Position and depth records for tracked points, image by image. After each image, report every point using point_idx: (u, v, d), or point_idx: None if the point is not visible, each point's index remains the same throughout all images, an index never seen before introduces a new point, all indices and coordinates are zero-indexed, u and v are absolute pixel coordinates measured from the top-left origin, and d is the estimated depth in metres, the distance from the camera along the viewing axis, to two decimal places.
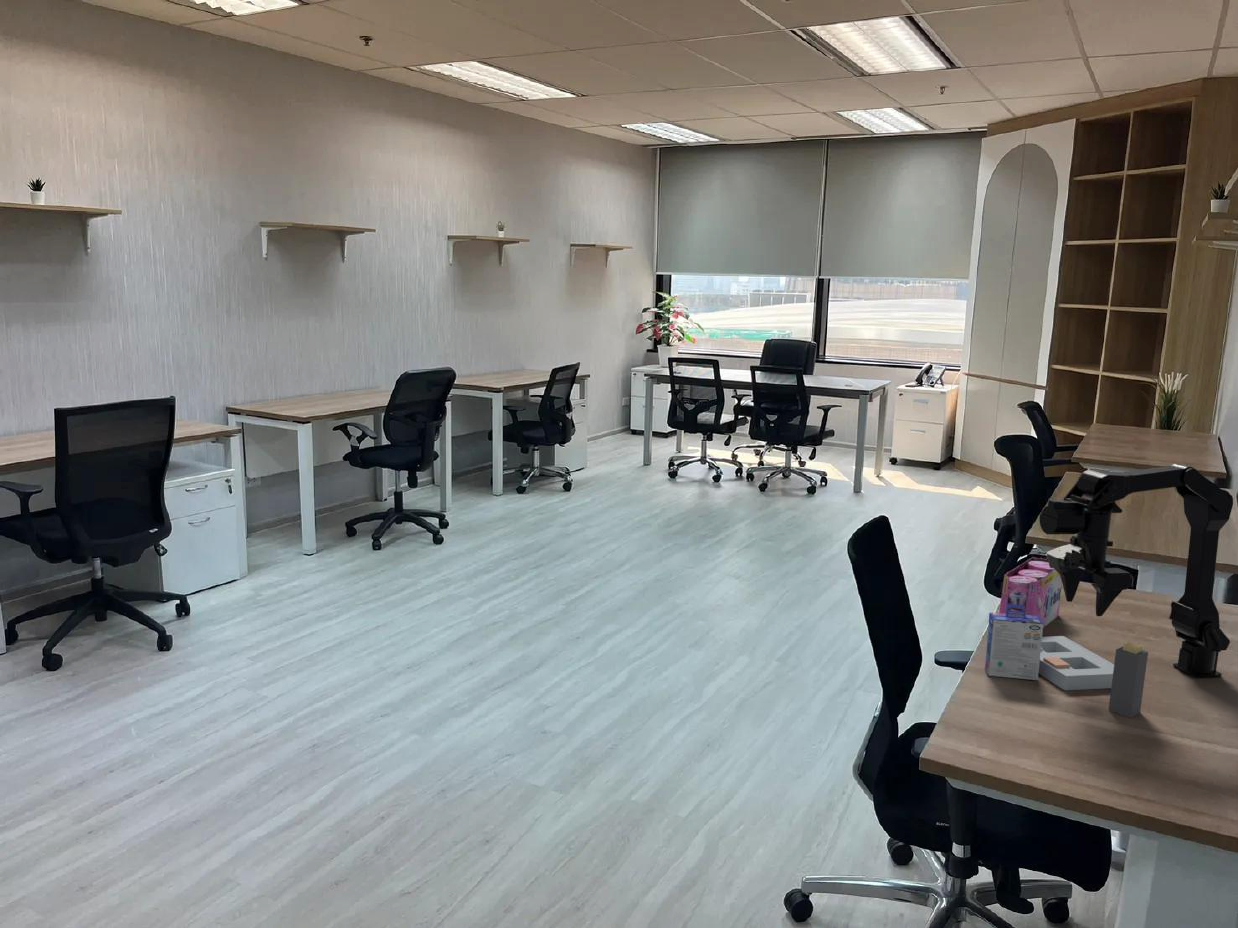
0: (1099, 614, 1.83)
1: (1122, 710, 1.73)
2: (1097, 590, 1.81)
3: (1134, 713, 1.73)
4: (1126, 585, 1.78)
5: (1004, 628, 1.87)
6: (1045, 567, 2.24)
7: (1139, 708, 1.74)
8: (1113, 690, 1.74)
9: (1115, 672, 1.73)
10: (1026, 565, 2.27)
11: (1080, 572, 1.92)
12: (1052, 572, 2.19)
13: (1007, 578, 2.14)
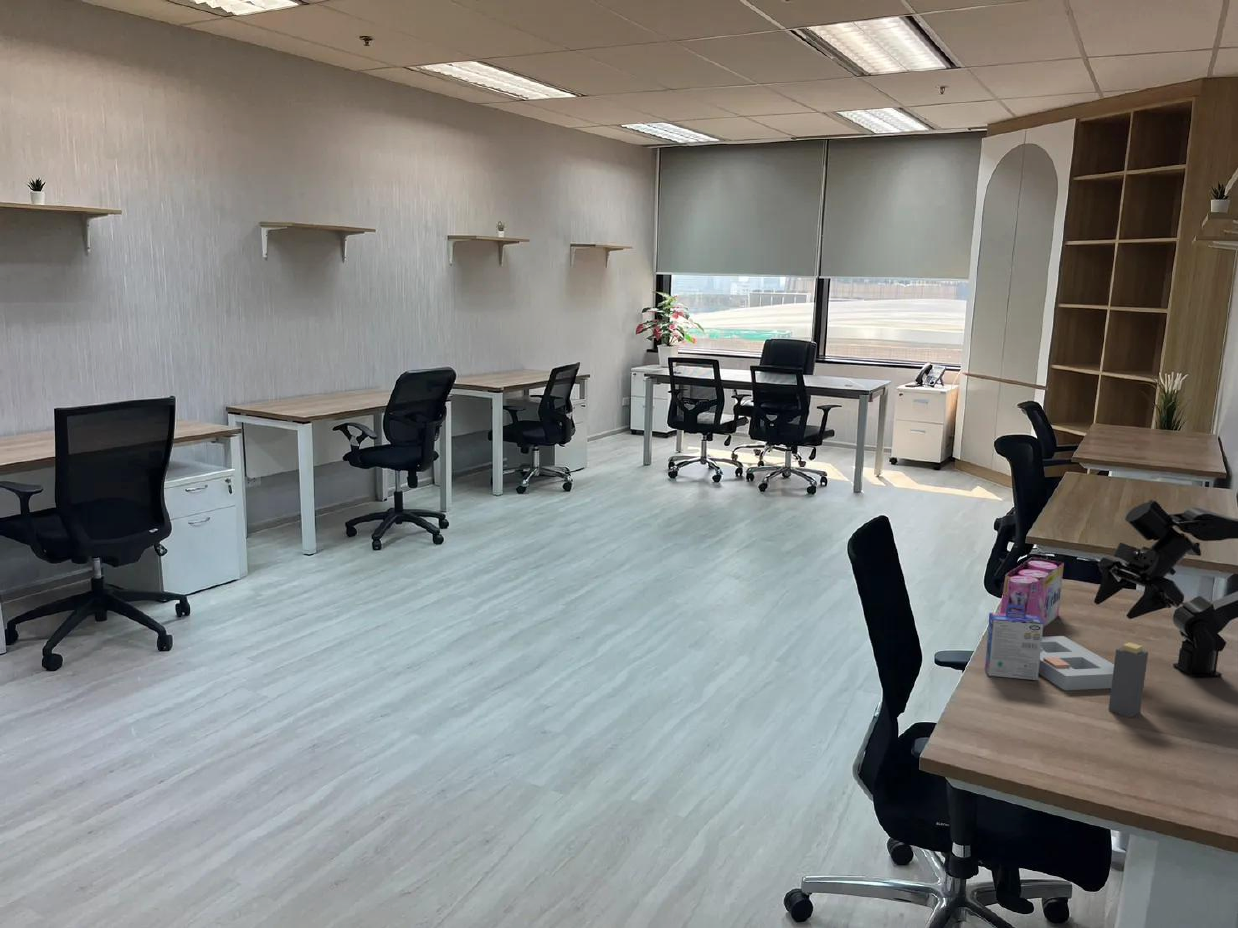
0: (1130, 615, 1.86)
1: (1122, 710, 1.73)
2: (1146, 593, 1.85)
3: (1134, 713, 1.73)
4: (1176, 601, 1.83)
5: (1004, 628, 1.87)
6: (1045, 567, 2.24)
7: (1139, 708, 1.74)
8: (1113, 690, 1.74)
9: (1115, 672, 1.73)
10: (1026, 565, 2.27)
11: (1118, 588, 1.97)
12: (1052, 572, 2.19)
13: (1008, 578, 2.14)
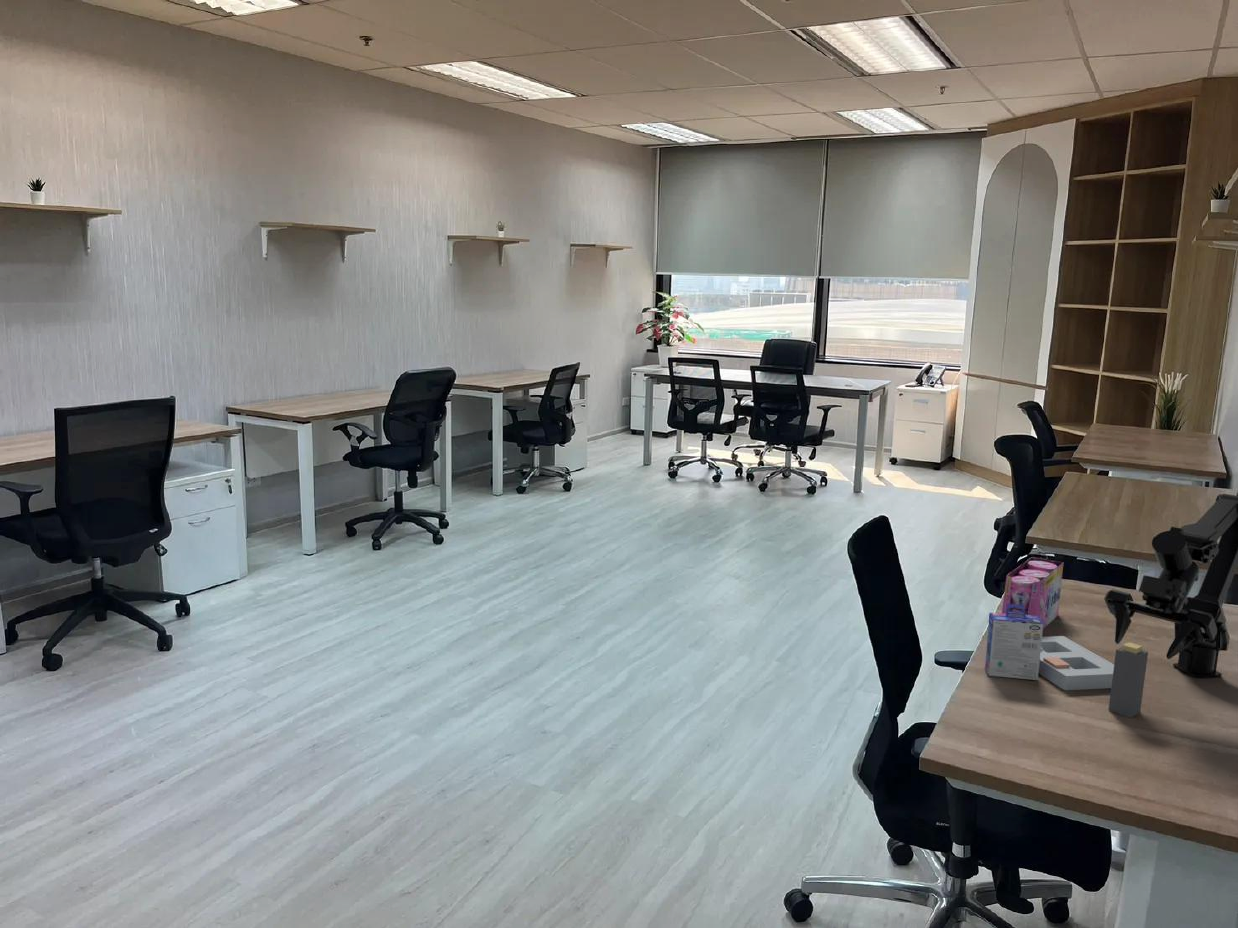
0: (1170, 655, 1.71)
1: (1122, 710, 1.73)
2: (1184, 629, 1.71)
3: (1134, 713, 1.73)
4: (1213, 635, 1.71)
5: (1004, 628, 1.87)
6: (1045, 567, 2.24)
7: (1139, 708, 1.74)
8: (1113, 690, 1.74)
9: (1115, 672, 1.73)
10: (1026, 565, 2.27)
11: (1129, 622, 1.82)
12: (1053, 572, 2.20)
13: (1009, 578, 2.13)
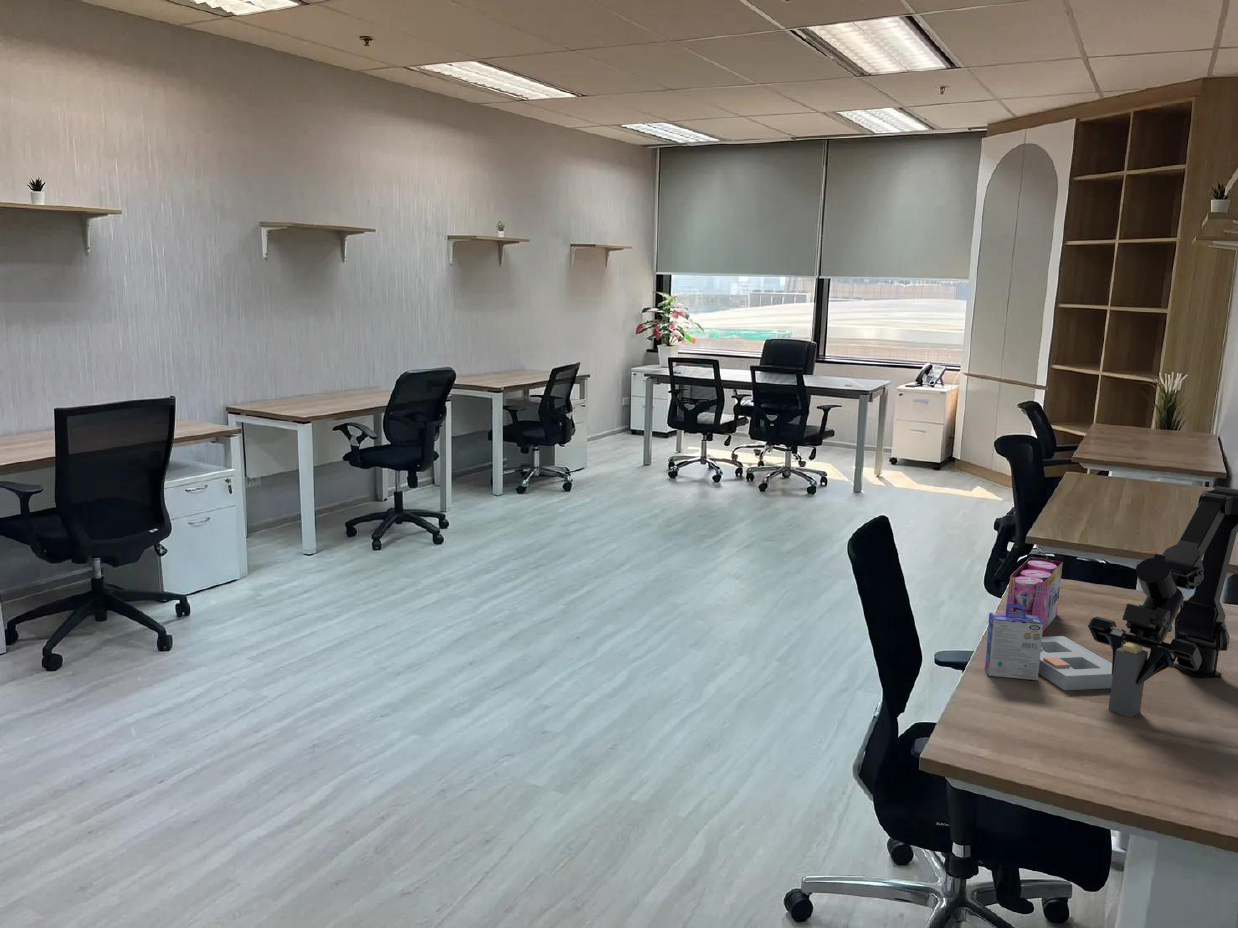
0: (1139, 681, 1.71)
1: (1122, 710, 1.73)
2: (1153, 654, 1.71)
3: (1134, 713, 1.73)
4: (1197, 665, 1.68)
5: (1004, 628, 1.87)
6: (1045, 567, 2.24)
7: (1139, 708, 1.74)
8: (1113, 690, 1.74)
9: (1115, 672, 1.73)
10: (1026, 565, 2.27)
11: None
12: (1054, 572, 2.20)
13: (1013, 579, 2.13)
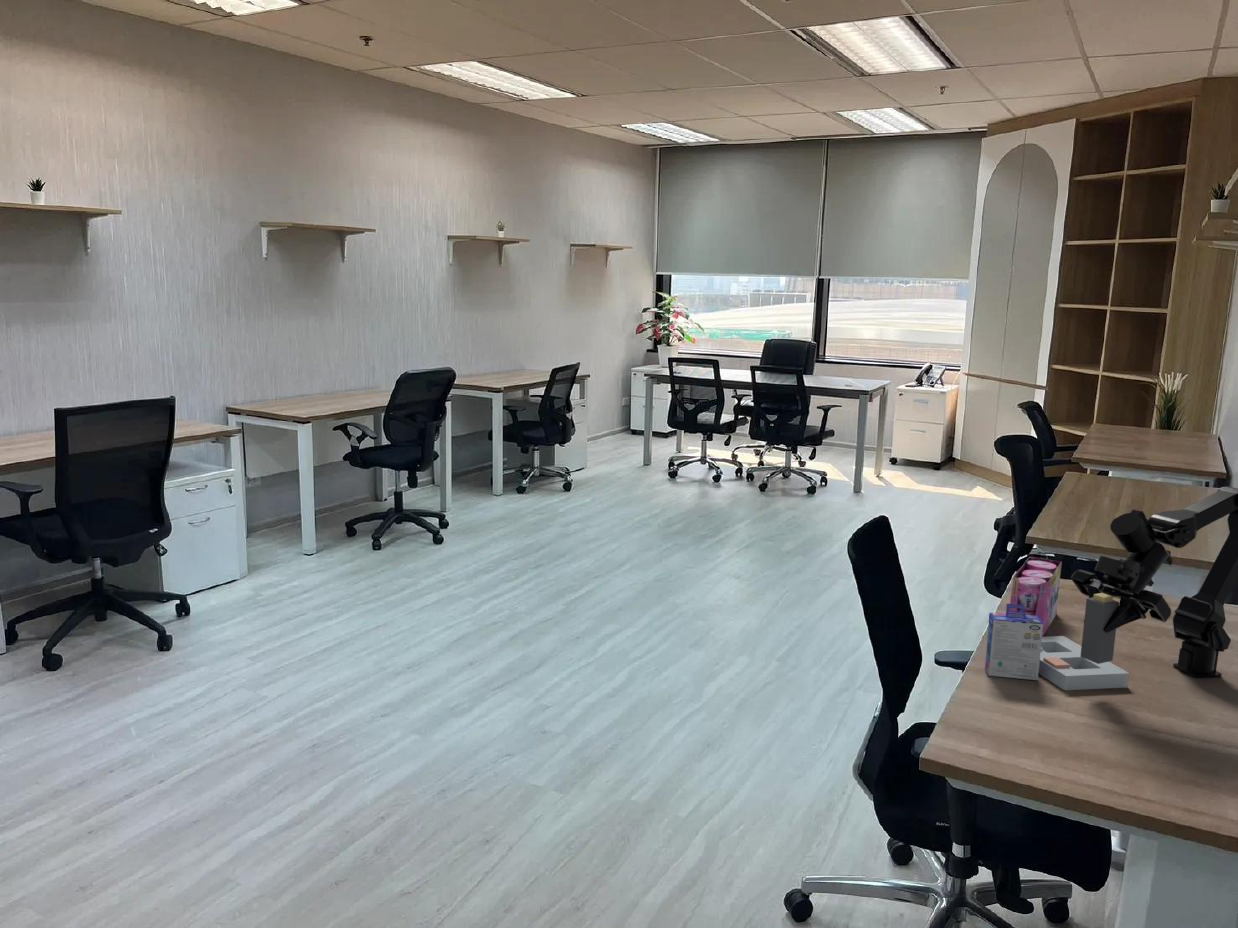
0: (1107, 629, 1.78)
1: (1091, 657, 1.81)
2: (1122, 604, 1.78)
3: (1103, 660, 1.80)
4: (1164, 616, 1.74)
5: (1004, 628, 1.87)
6: (1045, 567, 2.25)
7: (1111, 656, 1.81)
8: (1084, 637, 1.82)
9: (1086, 620, 1.81)
10: (1026, 565, 2.27)
11: None
12: (1055, 572, 2.20)
13: (1017, 580, 2.13)
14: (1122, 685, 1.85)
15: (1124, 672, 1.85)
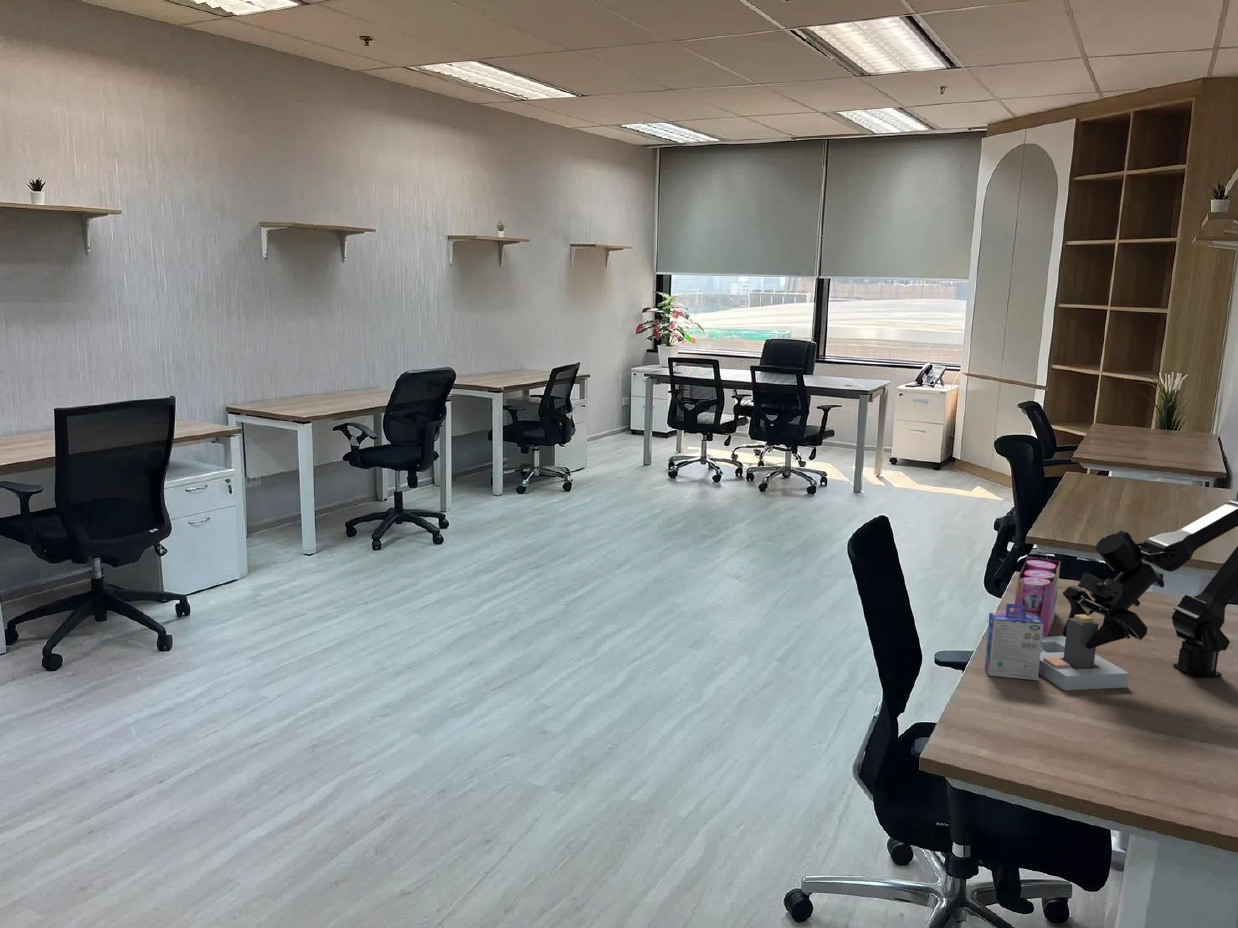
0: (1089, 646, 1.85)
1: None
2: (1105, 623, 1.84)
3: None
4: (1139, 634, 1.80)
5: (1004, 628, 1.87)
6: (1046, 566, 2.25)
7: None
8: (1065, 655, 1.91)
9: (1066, 639, 1.90)
10: (1026, 565, 2.27)
11: None
12: (1056, 572, 2.20)
13: (1022, 581, 2.12)
14: (1122, 685, 1.85)
15: (1124, 672, 1.85)
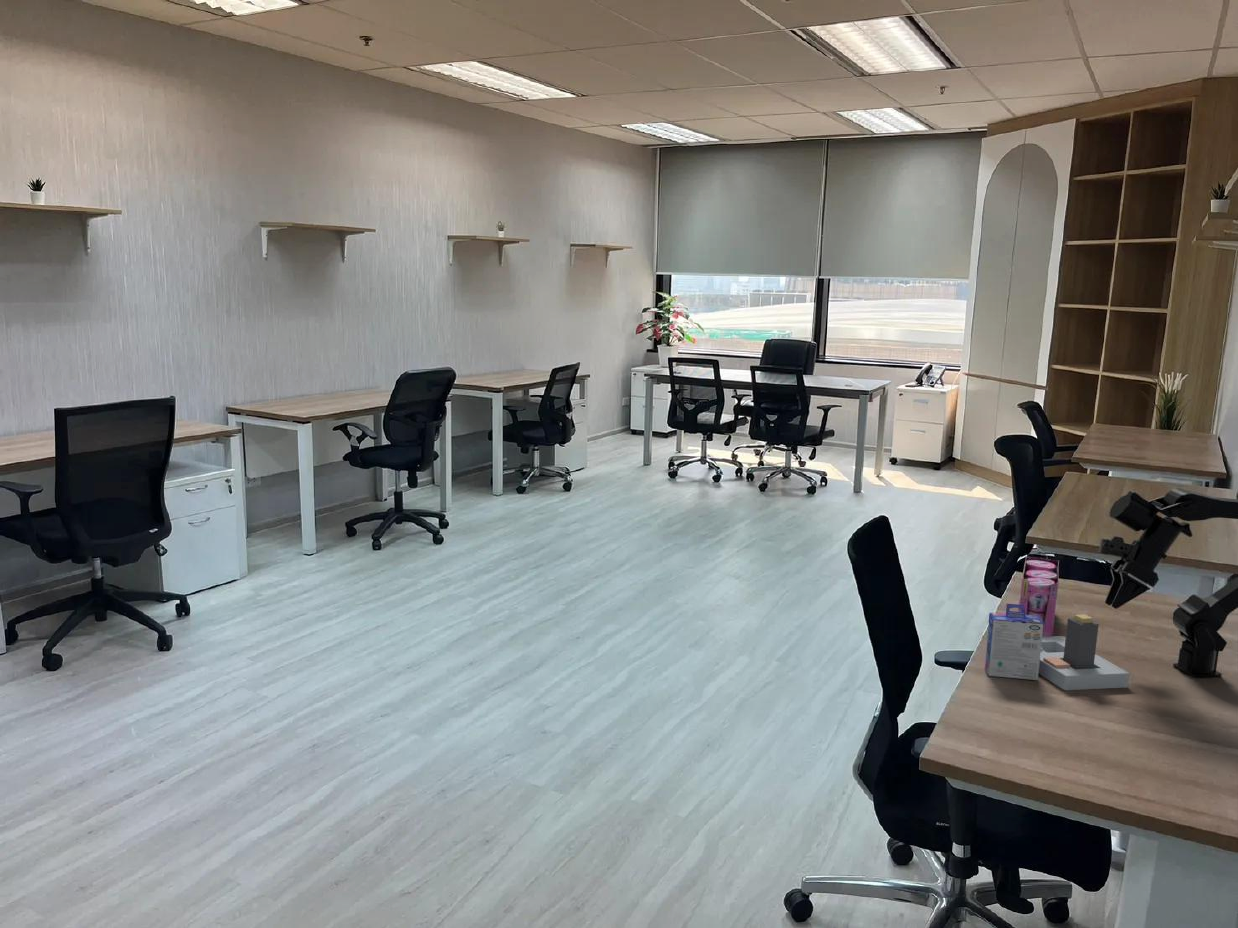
0: (1114, 605, 1.89)
1: None
2: (1121, 579, 1.88)
3: None
4: (1146, 580, 1.83)
5: (1004, 629, 1.87)
6: (1046, 566, 2.25)
7: None
8: (1065, 655, 1.91)
9: (1066, 639, 1.90)
10: (1026, 565, 2.27)
11: None
12: None
13: (1027, 581, 2.11)
14: (1122, 685, 1.85)
15: (1124, 672, 1.85)
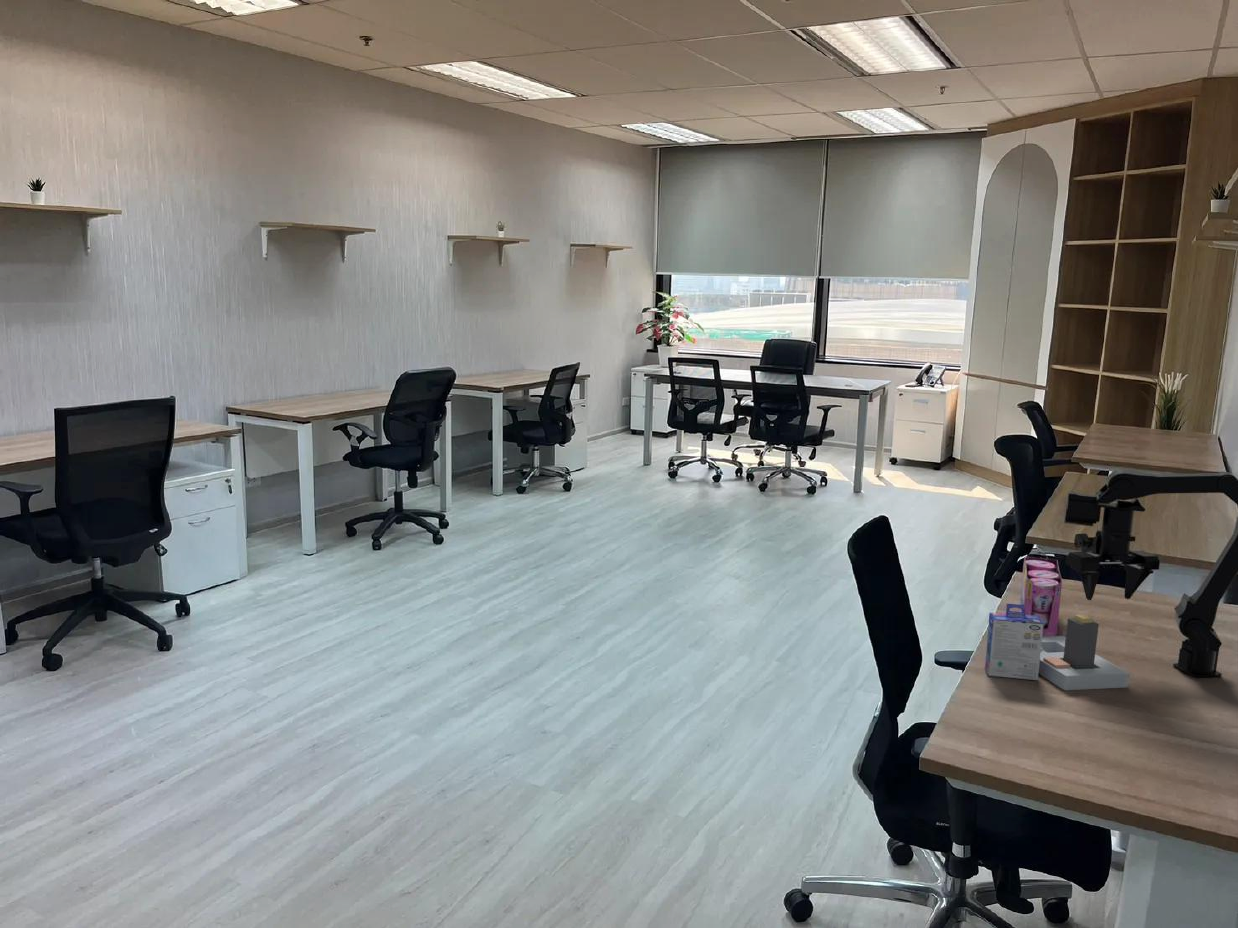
0: (1087, 597, 1.99)
1: None
2: None
3: None
4: (1077, 567, 1.96)
5: (1004, 628, 1.87)
6: (1046, 566, 2.25)
7: None
8: (1065, 655, 1.91)
9: (1066, 639, 1.90)
10: (1026, 565, 2.27)
11: (1139, 574, 1.98)
12: None
13: (1031, 582, 2.11)
14: (1122, 685, 1.85)
15: (1124, 672, 1.85)
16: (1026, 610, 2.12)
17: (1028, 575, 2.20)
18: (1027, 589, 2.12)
